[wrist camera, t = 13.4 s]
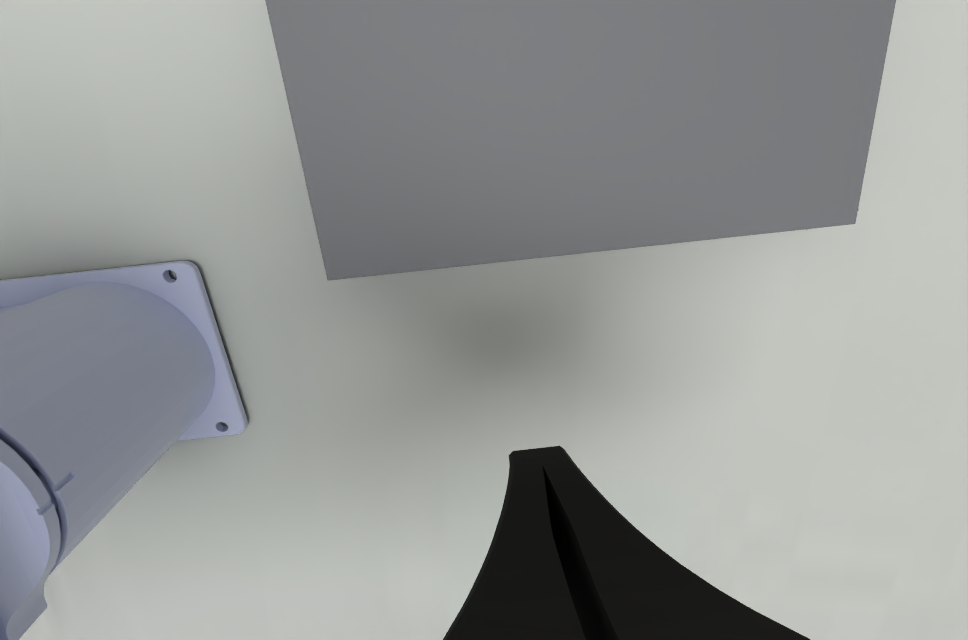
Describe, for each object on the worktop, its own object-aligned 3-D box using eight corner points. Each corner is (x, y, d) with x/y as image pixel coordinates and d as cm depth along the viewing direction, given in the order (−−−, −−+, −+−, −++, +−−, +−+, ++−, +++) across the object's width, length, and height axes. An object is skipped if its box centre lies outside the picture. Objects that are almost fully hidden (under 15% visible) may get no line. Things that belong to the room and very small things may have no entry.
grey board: (340, 267, 19) (327, 280, 18) (272, -57, 16) (246, -84, 14) (817, 216, 20) (855, 223, 18) (867, -115, 16) (923, -149, 14)
